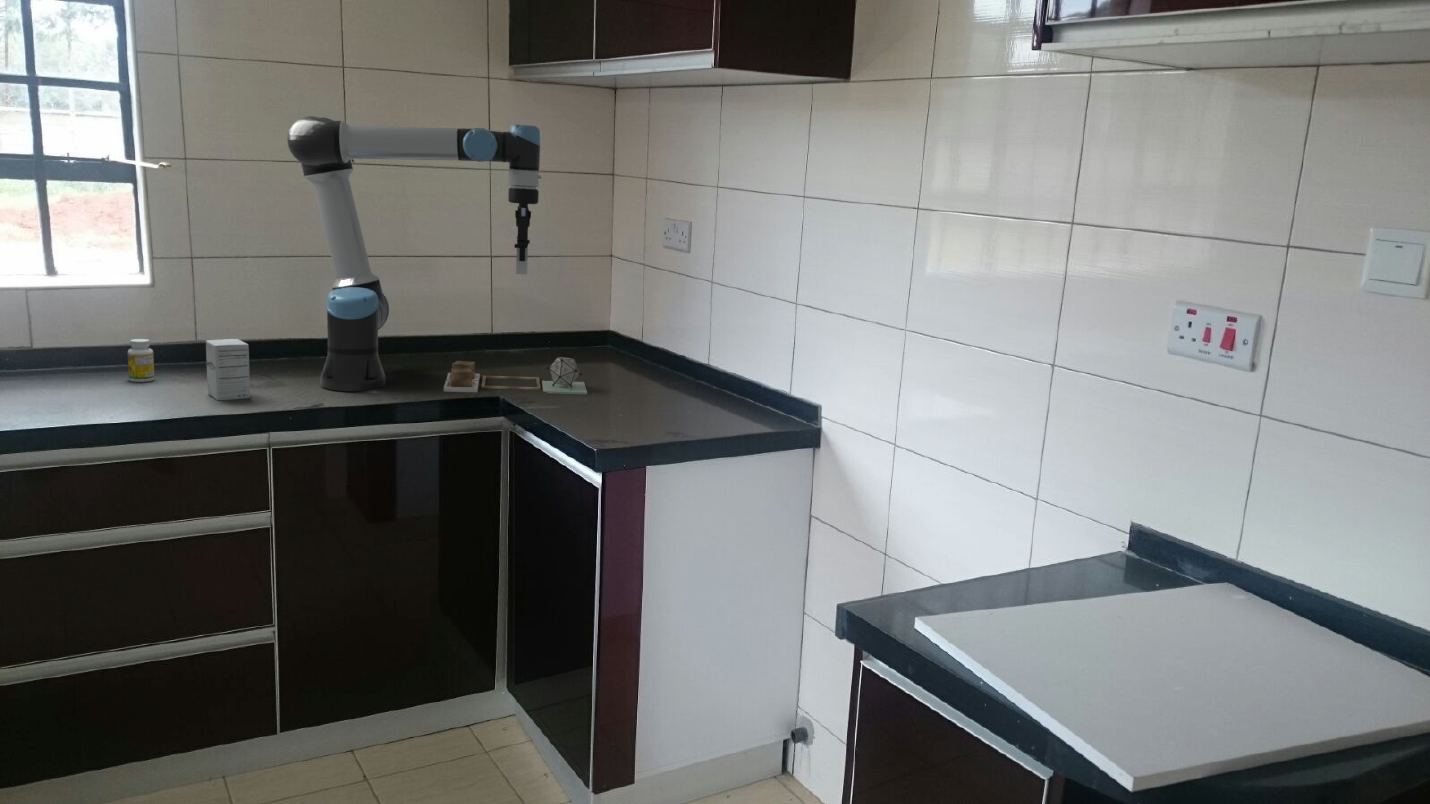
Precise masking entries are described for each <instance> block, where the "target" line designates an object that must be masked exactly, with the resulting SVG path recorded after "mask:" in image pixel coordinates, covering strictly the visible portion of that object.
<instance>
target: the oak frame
mask: <svg viewBox="0 0 1430 804" xmlns="http://www.w3.org/2000/svg"><path fill="white" fill-rule="evenodd" d="M487 379H504V380H505V379H507V380H509V379H510V380H536V386H508V385H507V386H504V385H503V386H501V385H497V386H496V385H486V380H487ZM540 379H541V378H540V377H538V376H530V377H529V376H509V375H507V376H504V375H482V380H481V387H480V388H481V389H495V390H496V389H499V390H500V389H501V390H529V391H530V390H533V391H534V390H536V391H539V390H541V387H542V386H541V381H540Z"/></svg>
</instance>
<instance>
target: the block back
mask: <svg viewBox="0 0 1430 804" xmlns="http://www.w3.org/2000/svg"><path fill="white" fill-rule="evenodd" d="M475 368H476V361H466V360H456V361H455V362H453V363H452V364H451V369H470V370H471V371H472V379H475V374H476V369H475Z"/></svg>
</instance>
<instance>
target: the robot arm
mask: <svg viewBox="0 0 1430 804" xmlns="http://www.w3.org/2000/svg"><path fill="white" fill-rule="evenodd" d="M287 146H288V149H289V152H290V154H291V155H292V156H293V157H294V158H295V159H296V160H297V161H299V163H300V164H301V169H302V172H303V176H304V178H305V179H306V180H307V181H309V182H311V184H312V185H313V186H312V187H313V189H314V193H315V194H314V195H315V199H316V201H317V206H318V209H319V213H320V218H321V222H322V226H323V229H324V234H325V237H326V241H327V246H328V249H329V255H330V257H331V258H330V259H331V261H332V262H331V263H332V266H333V271H334V274H335V281H334V283H333V284H332V286H331V288H332V291H330V292H329V293H328V295H327V301H326V306H325V307H326V313H327V314H326V315H327V316H326V317H327V321H326V322H327V356H326V359H325V362H324V366H323V369H322V371H321V374H320V387H321V388H323V389H327V390H331V391H335V392H336V391H339V392H367V391H370V390H371V389H372V390H374V389H378V388H382V387H384V386H386V375H385V371H384V369H383V365H382V363H381V360H380V357H379V330H381V328H383V327H384V325H385V323H386V322H387V321H388V318H389V314H390V313H389V312H390V306H389V302H388V299H387V297H386V295H385V294H384V292H383V289H382V285H381V280H380V278H379V276H377V275H376V274H374V273H373V272H372V270H371V266H370V262H369V257H368V254H367V249H366V245H365V241H364V236H363V233H362V228H361V225H360V220H359V216H358V211H357V207H356V204H355V199H354V195H353V190H352V186H351V182H350V175H351V174H352V173H353V171H354V167H353V164H352V160H353V159H354V160H355V159H357V160H358V159H359V160H360V159H361V160H363V159H364V160H365V159H366V160H403V161H404V160H406V161H407V160H408V161H409V160H410V161H412V160H413V161H415V160H416V161H459V162H460V161H461V162H463V161H464V162H477V163H478V162H482V163H483V162H493V163H495V162H498V163H509V165H508V166H509V167H508V168H509V169H508V186H510V187H509V188H508V198H507V199H508V202H509V203H511V204H518V206H517V209H516V210H515V213H514V215H515V216H514V217H515V225H516V227H517V236H516V243H514V249H516V257H515V258H516V264H515V266H516V267H515V269H516V270H515V274H516V275H525V276H527V275H528V256H529V255H528V254H529V248H528V247H529V245H530V243H531V242H530V241H531V240H530V239H529V238H528V237H529V235H528V234H529V227H530V225H531V221H530V220H531V218H532V211H531V210H530V209H529V205H537V204H539V197H540V196H539V194H540V193H539V190H538V189H537V188H538V187H539V184H540V183H539V182H540V181H539V180H541V179H542V175H541V174H540V161H541V159H540V157H541V131H540V128H539V127H538V126H536V125H531V124H529V125H528V124H513V123H512V124H511V125H510V126H509V131H496V130H489V129H486V128H481V127H478V128H477V127H475V128H465V127H464V128H457V127H453V128H452V127H421V126H420V127H419V126H418V127H416V126H380V125H379V126H378V125H376V126H375V125H350V124H348V123H347V122H346V121H344V120H333V119H331V118H328V117H324V116H323V117H322V116H321V117H318V116H315V115H314V116H304V117H300V118H299V119H297V120H296V121H295V122H294V123H292V125H291V126H290V127H289V130H288V133H287Z"/></svg>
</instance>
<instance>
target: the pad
mask: <svg viewBox="0 0 1430 804" xmlns="http://www.w3.org/2000/svg"><path fill="white" fill-rule="evenodd" d="M553 384H554V382H553V380H541V387H542V391H543V392H545V393H546V394H549V395H550V394H551V395H580V396H581V395H583V396H584V395H586V396H587V395H588V390H587V387H586V384H585V382H584V381H574V382H573V383H572V386H573V387H572V388H571V387H570V385H560V384H555V385H554V386H552V385H553Z"/></svg>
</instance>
